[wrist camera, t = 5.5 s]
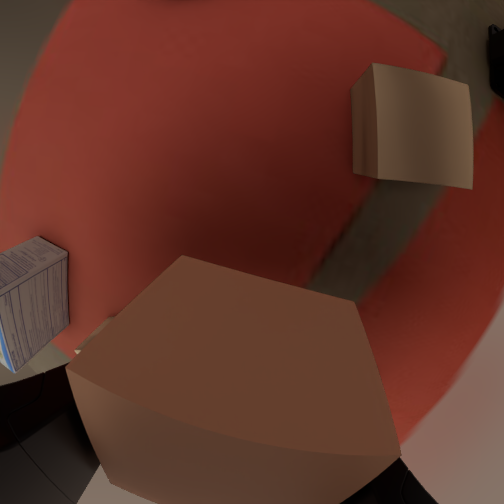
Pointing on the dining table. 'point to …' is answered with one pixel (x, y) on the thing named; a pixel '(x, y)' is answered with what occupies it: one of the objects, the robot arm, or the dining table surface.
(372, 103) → the walnut block
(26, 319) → the medicine box
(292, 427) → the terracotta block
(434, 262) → the dining table surface
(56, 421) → the robot arm
